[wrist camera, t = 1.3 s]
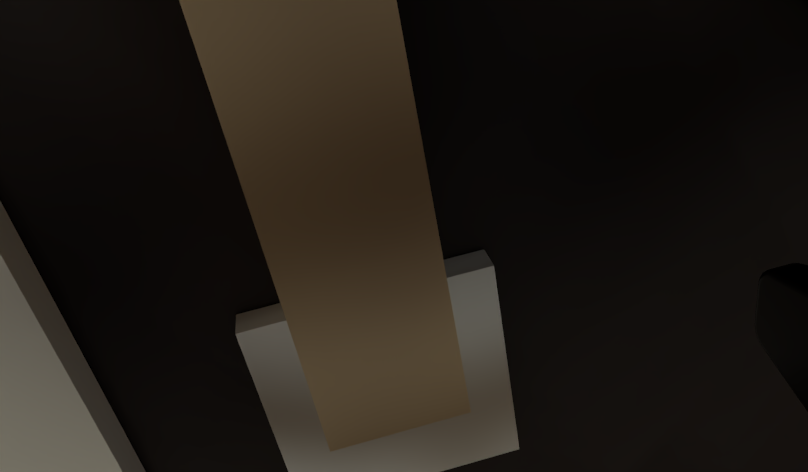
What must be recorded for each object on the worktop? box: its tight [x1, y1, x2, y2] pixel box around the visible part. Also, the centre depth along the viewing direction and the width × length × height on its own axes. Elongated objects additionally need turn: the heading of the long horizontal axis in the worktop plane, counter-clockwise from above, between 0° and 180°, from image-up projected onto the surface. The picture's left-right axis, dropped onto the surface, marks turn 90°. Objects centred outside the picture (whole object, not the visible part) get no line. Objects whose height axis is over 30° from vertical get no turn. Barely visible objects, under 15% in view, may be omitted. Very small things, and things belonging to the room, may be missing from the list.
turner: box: [179, 0, 519, 472], centre depth 13 cm, size 16×6×5 cm, turn 11°
